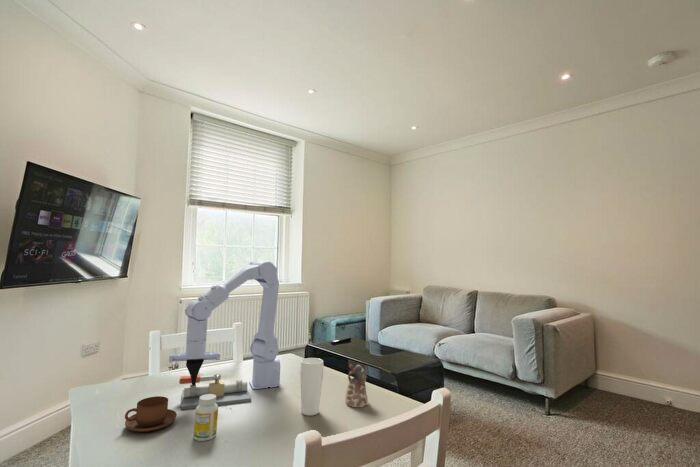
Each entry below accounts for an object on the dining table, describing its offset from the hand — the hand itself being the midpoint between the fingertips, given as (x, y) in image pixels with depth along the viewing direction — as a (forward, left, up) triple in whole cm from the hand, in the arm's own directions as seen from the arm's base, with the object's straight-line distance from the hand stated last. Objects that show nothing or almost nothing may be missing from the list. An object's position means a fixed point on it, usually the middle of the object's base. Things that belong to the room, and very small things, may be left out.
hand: (193, 384), depth 110 cm
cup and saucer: (+10, +12, -6) cm, 17 cm away
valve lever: (-2, -3, 0) cm, 3 cm away
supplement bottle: (-3, +23, -6) cm, 24 cm away
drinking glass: (-32, +18, -6) cm, 37 cm away
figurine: (-48, +16, -6) cm, 51 cm away
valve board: (-7, -3, -6) cm, 9 cm away
